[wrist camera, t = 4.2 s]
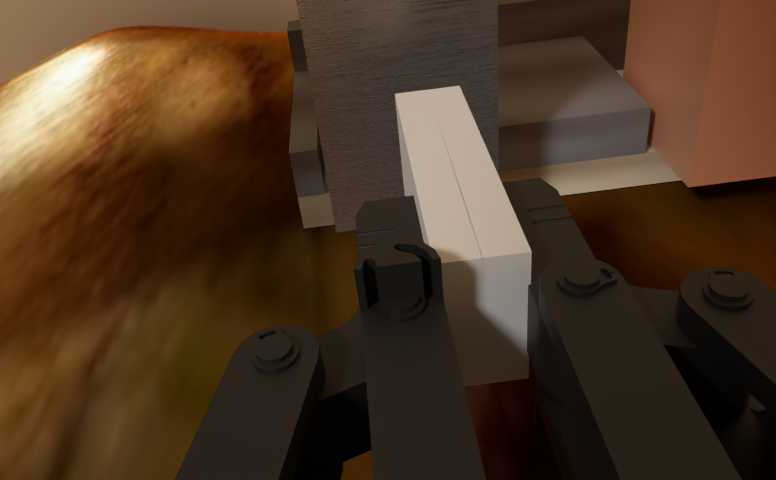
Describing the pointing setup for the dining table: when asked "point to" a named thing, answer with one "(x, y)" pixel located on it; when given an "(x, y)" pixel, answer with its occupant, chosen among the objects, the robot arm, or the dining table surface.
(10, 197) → the dining table surface
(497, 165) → the gray block
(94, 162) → the dining table surface
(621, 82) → the base
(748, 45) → the terracotta plunger
